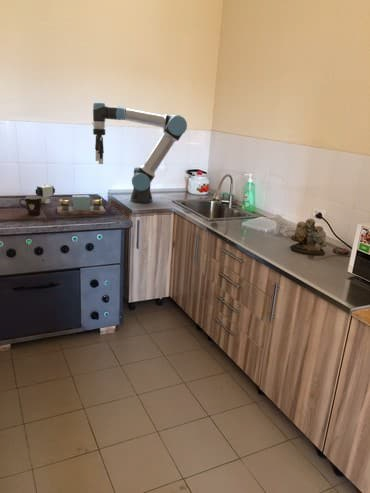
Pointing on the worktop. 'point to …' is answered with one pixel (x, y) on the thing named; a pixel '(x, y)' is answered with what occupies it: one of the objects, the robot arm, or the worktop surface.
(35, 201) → the coffee mug
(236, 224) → the worktop surface
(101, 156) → the robot arm
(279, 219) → the toy dinosaur
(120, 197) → the worktop surface
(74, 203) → the coupling block
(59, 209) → the base board
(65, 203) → the pipe rig
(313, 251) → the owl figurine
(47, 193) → the pneumatic valve
